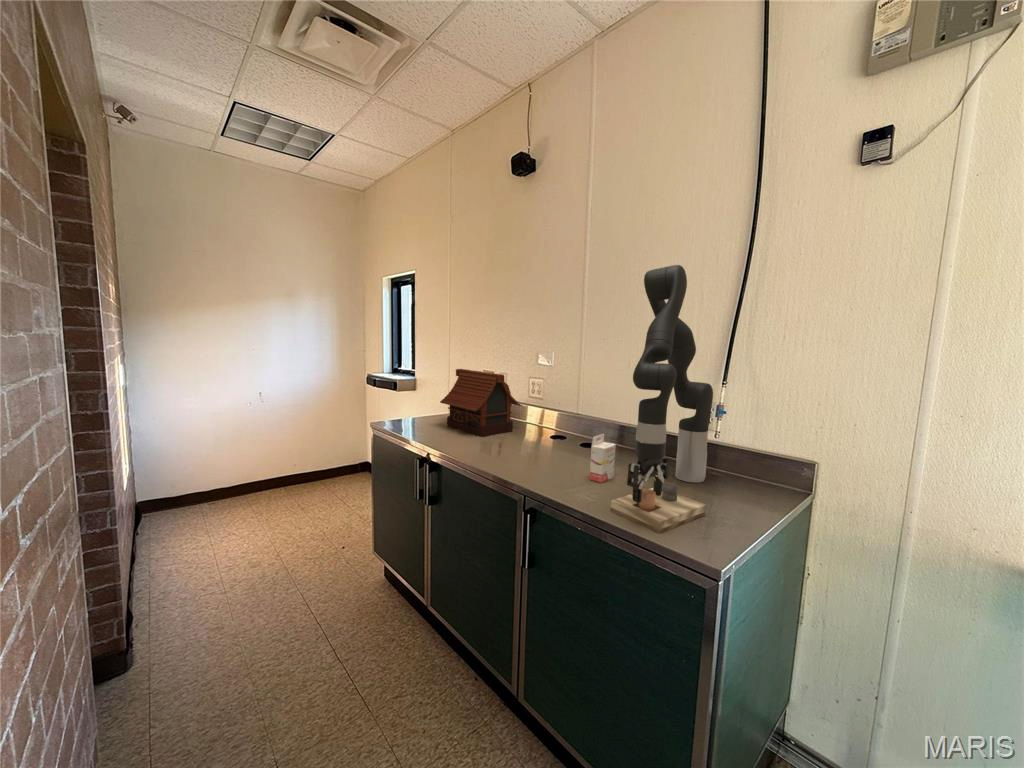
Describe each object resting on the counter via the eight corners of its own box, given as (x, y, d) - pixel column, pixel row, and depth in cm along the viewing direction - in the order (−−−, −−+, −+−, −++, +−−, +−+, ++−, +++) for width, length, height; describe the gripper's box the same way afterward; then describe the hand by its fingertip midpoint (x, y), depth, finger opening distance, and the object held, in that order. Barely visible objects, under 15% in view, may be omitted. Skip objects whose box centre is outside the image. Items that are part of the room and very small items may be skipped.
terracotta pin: (644, 509, 118) (646, 488, 117) (657, 514, 115) (658, 492, 114) (635, 512, 116) (636, 490, 115) (647, 517, 113) (649, 495, 112)
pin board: (655, 496, 130) (657, 473, 130) (705, 515, 117) (707, 490, 117) (610, 510, 119) (611, 486, 118) (659, 533, 106) (661, 506, 105)
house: (522, 431, 213) (523, 373, 210) (476, 439, 194) (477, 376, 191) (479, 419, 239) (479, 367, 235) (435, 426, 220) (435, 369, 216)
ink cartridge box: (602, 483, 141) (604, 439, 139) (589, 480, 144) (591, 437, 142) (614, 477, 147) (616, 435, 146) (601, 473, 150) (603, 432, 149)
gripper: (655, 432, 120) (652, 488, 122) (621, 439, 112) (618, 499, 114) (679, 438, 114) (675, 497, 116) (645, 445, 106) (641, 509, 108)
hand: (647, 498), depth 115 cm, fingers open, 8 cm apart
